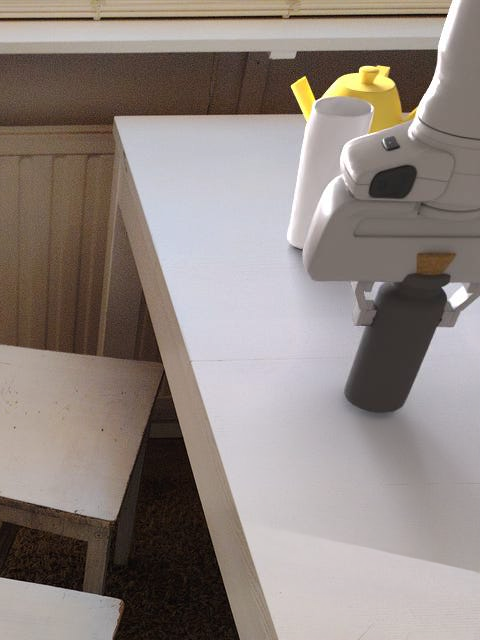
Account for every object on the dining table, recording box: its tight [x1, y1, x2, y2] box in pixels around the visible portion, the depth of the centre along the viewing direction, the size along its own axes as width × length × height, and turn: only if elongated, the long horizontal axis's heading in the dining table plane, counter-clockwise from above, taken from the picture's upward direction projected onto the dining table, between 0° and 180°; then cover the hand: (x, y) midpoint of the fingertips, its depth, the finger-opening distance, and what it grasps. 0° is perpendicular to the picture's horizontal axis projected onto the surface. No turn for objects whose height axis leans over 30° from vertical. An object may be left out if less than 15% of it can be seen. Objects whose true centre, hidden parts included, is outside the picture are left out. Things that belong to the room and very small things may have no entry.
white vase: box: [286, 96, 374, 250], centre depth 97 cm, size 7×7×15 cm
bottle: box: [344, 253, 457, 414], centre depth 75 cm, size 6×6×15 cm
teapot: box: [290, 65, 419, 135], centre depth 114 cm, size 20×18×11 cm
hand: (401, 323), depth 75 cm, fingers closed on bottle, 6 cm apart
